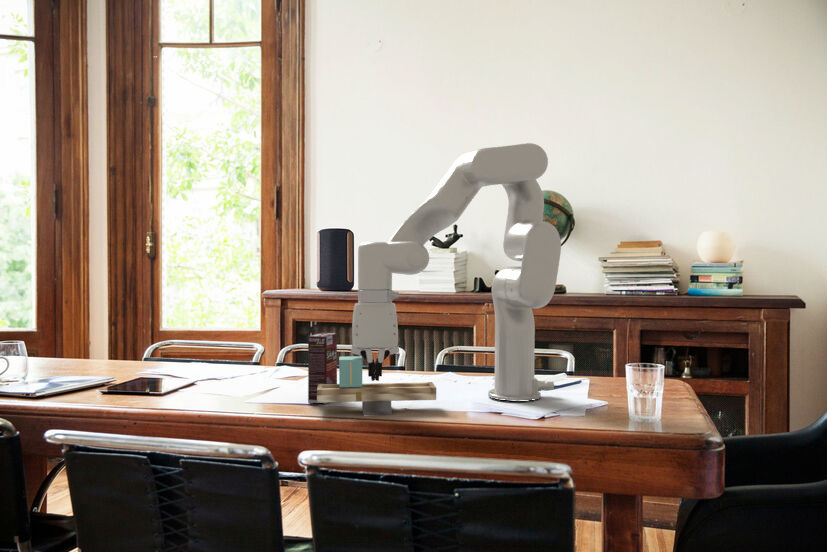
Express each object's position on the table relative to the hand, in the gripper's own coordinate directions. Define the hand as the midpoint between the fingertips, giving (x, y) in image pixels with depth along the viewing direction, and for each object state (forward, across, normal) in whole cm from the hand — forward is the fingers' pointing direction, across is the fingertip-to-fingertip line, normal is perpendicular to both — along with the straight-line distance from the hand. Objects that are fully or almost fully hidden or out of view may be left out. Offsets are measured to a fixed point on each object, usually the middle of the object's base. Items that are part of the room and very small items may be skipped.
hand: (375, 379), depth 156 cm
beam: (+7, 0, 0) cm, 7 cm away
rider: (+2, +5, 0) cm, 6 cm away
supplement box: (+7, +12, -13) cm, 19 cm away
